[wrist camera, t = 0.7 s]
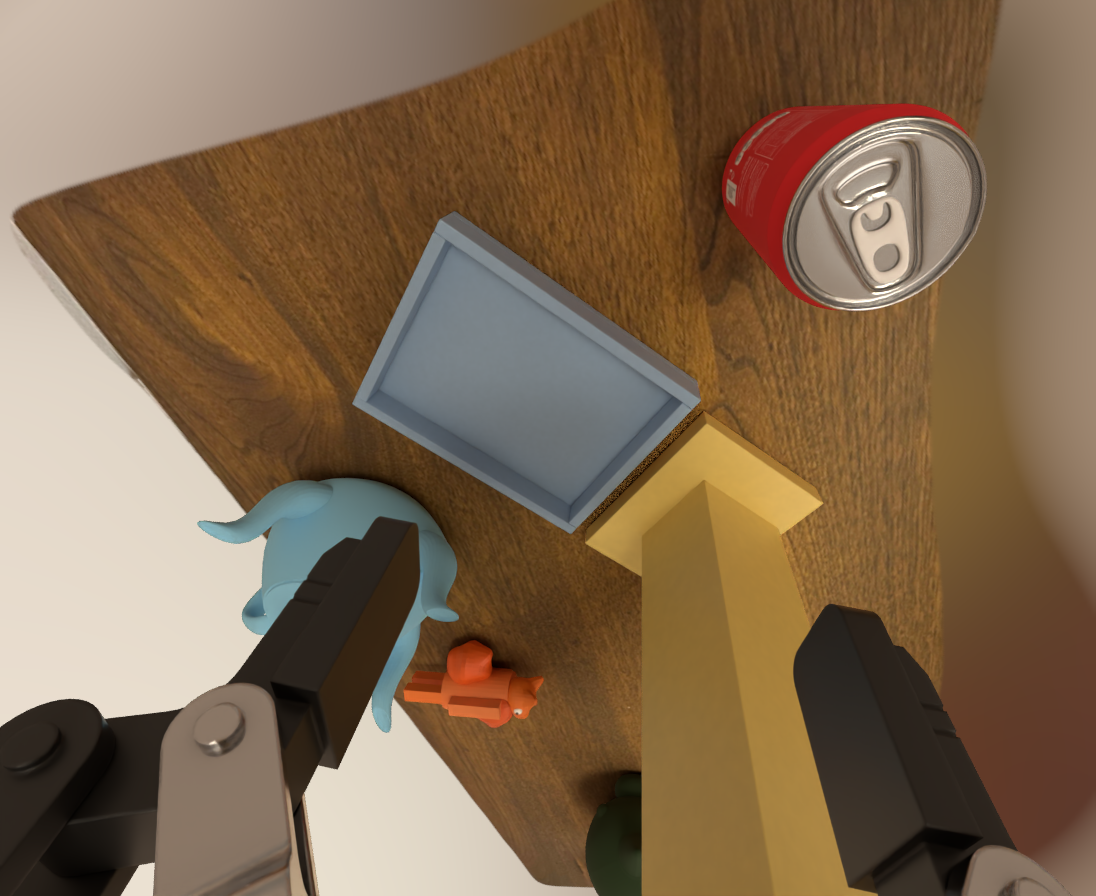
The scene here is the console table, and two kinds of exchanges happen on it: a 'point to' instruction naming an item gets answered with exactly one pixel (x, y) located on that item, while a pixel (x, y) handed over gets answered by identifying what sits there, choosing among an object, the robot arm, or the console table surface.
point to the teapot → (319, 524)
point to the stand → (722, 673)
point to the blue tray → (519, 378)
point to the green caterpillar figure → (617, 841)
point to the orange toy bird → (475, 687)
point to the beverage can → (856, 200)
